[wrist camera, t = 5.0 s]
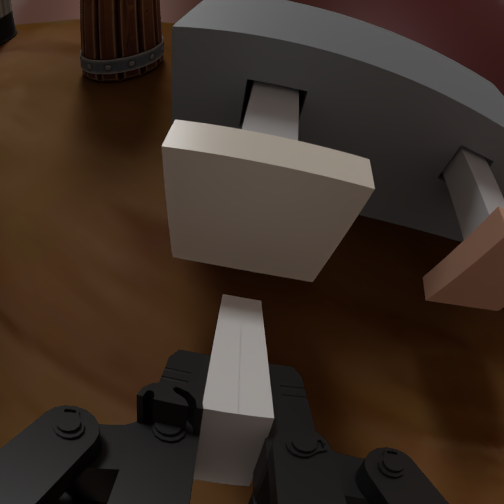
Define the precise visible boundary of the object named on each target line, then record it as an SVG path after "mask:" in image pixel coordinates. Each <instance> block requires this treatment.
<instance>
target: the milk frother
mask: <svg viewBox="0 0 504 504" xmlns="http://www.w3.org/2000/svg"><path fill="white" fill-rule="evenodd" d="M16 34H17V31H16V29H15V24H14V19H13V14H12V4H11V0H0V44H3V43H4V42H6V41H8V40H9V39H11V38H12V37H14V36H15V35H16Z"/></svg>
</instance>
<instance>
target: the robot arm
mask: <svg viewBox="0 0 504 504" xmlns="http://www.w3.org/2000/svg"><path fill="white" fill-rule="evenodd" d="M304 388H305V387H304V384H303V380H302V377H301V375H300V374H299V373H298V372H297V371H296V370H295V369H294V367H291V366H283V365H275V364H268V357H267V348H266V340H265V331H264V322H263V313H262V304H261V301H260V300H254V299H248V298H242V297H237V296H231V295H225V294H223V295H222V300H221V306H220V311H219V316H218V321H217V327H216V332H215V337H214V343H213V348H212V354H211V356H210V355H205V354H199V353H194V352H189V351H184V350H178V351H177V352H175V353H174V354H173V355H171V356H170V357H169V359H168V362H167V364H166V367H165V369H164V372H163V374H162V378H161V379H160V382H158V383H152V384H150V385H147V386H145V387H143V388H142V389H141V390H140V391H139V393H138V394H137V421H136V422H134V423H131V424H127V425H102V424H98V422H97V420H96V419H95V417H94V416H93V415H92V414H90V413H89V412H88V411H87V410H84V409H82V408H79V407H77V406H67V405H65V406H59V407H54V408H53V409H51V410H49V411H47V412H45V413H44V414H43V415H42V416H41V417H39V418H38V419H37V420H36V421H34V422H33V423H32V424H31V425H29V426H28V427H27V428H26V429H24V430H23V431H22V432H21V433H20V434H18V435H17V436H16V437H15V438H13V439H12V440H11V441H10V442H8V443H7V444H6V445H5V446H4V447H2V448H1V449H0V504H190V498H191V491H192V484H193V479H196V480H202V481H208V482H215V483H222V484H230V485H240V486H250V484H251V482H252V479H253V493H252V496H251V498H250V500H249V503H248V504H449V503H448V502H447V501H446V500H445V499H444V497H443V496H442V495H441V494H440V493H439V491H438V490H437V489H436V488H435V487H434V485H433V484H432V483H431V482H430V481H429V479H428V478H427V477H426V476H425V475H424V473H423V472H422V471H421V470H420V469H419V468H418V466H417V465H416V464H415V463H414V462H413V460H412V459H411V458H410V457H408V456H407V455H406V454H405V453H403V452H401V451H399V450H397V449H392V448H387V447H386V448H377V449H375V450H373V451H371V452H370V453H369V454H368V455H367V457H366V458H365V459H362V458H357V457H353V456H348V455H344V454H341V453H338V452H335V451H333V450H332V449H331V447H330V445H329V443H328V441H327V440H326V439H325V438H324V437H323V436H321V435H320V434H319V433H316V430H315V426H314V422H313V419H312V415H311V411H310V407H309V403H308V399H307V395H306V391H305V390H304Z"/></svg>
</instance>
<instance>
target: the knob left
mask: <svg viewBox="0 0 504 504" xmlns="http://www.w3.org/2000/svg"><path fill="white" fill-rule="evenodd" d="M298 123H299V89H295V88H290V87H286V86H281V85H276V84H271V83H266V82H261V81H254V85H253V88H252V92H251V96H250V99H249V103H248V107H247V111H246V115H245V118H244V122H243V126H242V129H237V128H231V127H225V126H219V125H212V124H206V123H199V122H191V121H184V120H176V119H175V121H174V123H173V125H172V126H171V128H170V130H169V132H168V134H167V136H166V138H165V140H164V142H163V144H162V159H163V172H164V184H165V195H166V205H167V214H168V223H169V232H170V240H171V248H172V256H173V257H176V258H181V259H186V260H191V261H197V262H202V263H207V264H213V265H218V266H224V267H229V268H235V269H240V270H246V271H251V272H257V273H263V274H268V275H274V276H280V277H285V278H291V279H297V280H303V281H308V282H313V281H314V280H315V278H316V277H317V275H318V274H319V272H320V271H321V270H322V268H323V267H324V265H325V264H326V262H327V261H328V260H329V258H330V257H331V255H332V254H333V252H334V251H335V249H336V248H337V246H338V245H339V243H340V242H341V240H342V239H343V237H344V236H345V234H346V233H347V231H348V230H349V228H350V227H351V225H352V224H353V222H354V221H355V219H356V218H357V216H358V215H359V213H360V212H361V210H362V209H363V207H364V205H365V204H366V202H367V201H368V199H369V198H370V196H371V194H372V193H373V191H374V190H375V186H374V181H373V175H372V170H371V165H370V160H369V159H367V158H363V157H360V156H356V155H353V154H349V153H345V152H342V151H338V150H334V149H330V148H326V147H322V146H318V145H314V144H310V143H306V142H301V141H298Z"/></svg>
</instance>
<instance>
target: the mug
mask: <svg viewBox="0 0 504 504" xmlns="http://www.w3.org/2000/svg"><path fill="white" fill-rule="evenodd" d="M80 25H81V51H80V59H81V68H82V69H83V73H84V75H85V76H87V77H88V78H91V79H93V80H95V81H101V82H113V81H122V80H126V79H131V78H134V77H137V76H140V75H143V74H145V73H147V72H149V71H151V70H152V69H154V68H155V67H156V66H157V65H158V64H159V63H160V62H161V61H162V60H163V54H164V38H163V36H162V32H161V17H160V0H80Z"/></svg>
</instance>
